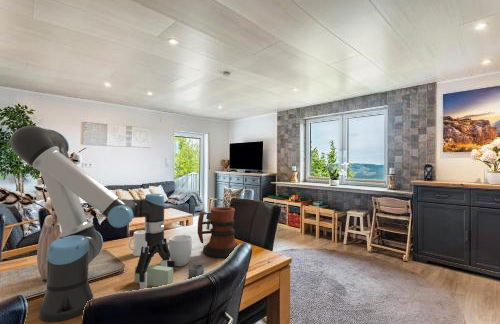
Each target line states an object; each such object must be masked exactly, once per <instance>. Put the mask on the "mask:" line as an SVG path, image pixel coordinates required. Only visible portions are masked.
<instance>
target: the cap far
mask: <svg viewBox="0 0 500 324" xmlns="http://www.w3.org/2000/svg"><path fill="white" fill-rule="evenodd" d="M158 266H161V263H159V265H158ZM167 267H171V268H173V271H175V269H176V266H175V261H171V259H169V260H167Z"/></svg>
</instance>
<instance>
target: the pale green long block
mask: <svg viewBox="0 0 500 324" xmlns="http://www.w3.org/2000/svg"><path fill="white" fill-rule="evenodd" d="M136 268H137V264H136V265H135V266H134V284H140V281H139V274H136V273H135V271H136ZM143 270H144V269H143ZM146 273H147V286H153V287H159V286H162V285H167V284H171V283H173V284H174V270H173V268H171V267H164V266H159V265H156V264H155V265H154V264H149V266H148V268H147V270H146Z"/></svg>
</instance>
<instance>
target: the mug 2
mask: <svg viewBox="0 0 500 324" xmlns="http://www.w3.org/2000/svg"><path fill="white" fill-rule="evenodd" d="M192 238H193V237H192V236H191V235H187V234H176V235H172V236H170V237H169V239H168V241H167V246H168V249H169V252H170V259H169V260H170V261H175V267H183V266H186V265H187V264H188V263H189V260H190V258H191V256H192V247H193V245H192V244H193V241H192ZM166 254H167V253H166Z"/></svg>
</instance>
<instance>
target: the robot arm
mask: <svg viewBox="0 0 500 324" xmlns="http://www.w3.org/2000/svg"><path fill="white" fill-rule="evenodd" d="M9 140H10V141H9V144H10V148H11V150H12V151H13V153H14V154H15V155H17V156H18V157H19V158H20V159H21V160H22V161H24V162H25V163H26V164H28V165H30V167H32V168H33V169H35V170H38V172H39V173H40V175H41V176H42V177H41V178H42V180H43V184H44V186H45V188H46V191H47V193H48V196H49V199H50V201H51V204H52V207H53V210H54V212H55V215H56V218H57V220H58V224H59V226H60V229H61V232H60V234H59V235H58V239H55V240H54V241H52V242H51V243H50V244H49V245H48V247H47V251H46V252H47V253H46V290H45V291H46V292H45V293H44V296H43V299H42V302H41V305H40V306H39V309H38V310H39V311H38V318H39V319H40V320H41V321H42V322H43V321H44V322H48V321H51V322H52V321H54V322H61V321H66V320H70V319H73V318H76V317H78V316H80V315H83V314H84V313H83V310H84V307H85V305H86V303H87V301H89V300H91V299H93V300H94V294H93V292H92V288H91V286H90V284H89V264H90V263H92V261H93V260H94V259H95V258H96V257H98V255H99V254H100V252H101V251H102V249H103V245H104V244H103V243H104V240H103V236H102V234H101V233H100V232H99V231H97V230H96V229H95V225H94V223H93V222H90V221H88V219H87V217H86V214H85V211H84V208H83V205H82V203H81V200H83V201H84V202H85V203H86V204H88V205H89V206H91V207H92V208H93V209H95V210H96V211H98V212H99V213H100V214H102V215H103V216H104V217H106V218H107V222H108V223H109V224H110V226H112V227H113V228H124V227H126V226H127V225H128V224H130V223H131V222H132V221H133V219H136V218H137V219H138V218H144V230H145V231H146V232H145V241H146V242H147V247H142V248H141V254H140V256H139V259H138V262H137V264H136V265H137V268H136V271H135V270H134V274H135V273H136V274H139V281H140V283H139V290H141V289H144V288H147V289H148V285H147V273H146V270H147V268H148V266H149V265H150V263H151V261H152V259H153V258H154V256H155V255H157V254H158V255H159V257H160V258H161V260H160V264H161V266H164V267H167V260H171V259H170V252H169V246H167V242H168V241H167V238H165V206H166V205H165V196H164V194H163V193H148V194H145V196H144V198H141V199H140V198H139V199H136V198H135V199H125V198H123V199H121V198H120V197H118V195H116V194H115V193H113V192H112V191H111V190H109V189H108V188H107V187H106V186H104V185H103V184H102V183H100V181H98V180H96V179H95V178H94V177H93V176H91V175H90V174H89V173H87V172H86V171H85V170H83V169H82V168H81V167H80V166H79V165H77V164H76V163H74V162H73V161H71V159H70V156H69V153H68V152H69V149H70V146H69V140H68V139H67V138H66V137H65V136H64V135H63V134H61V133H60V132H58V131H56V130H54V129H48V128H44V127H40V126H37V125H35V126H34V125H26V126H22V127H20V128H18V129H17V130H15V131H14V132H13V134H12V135H11V137H10V139H9ZM80 199H81V200H80ZM148 253H149V254H148ZM166 253H167V254H166ZM143 269H144V270H143Z"/></svg>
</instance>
